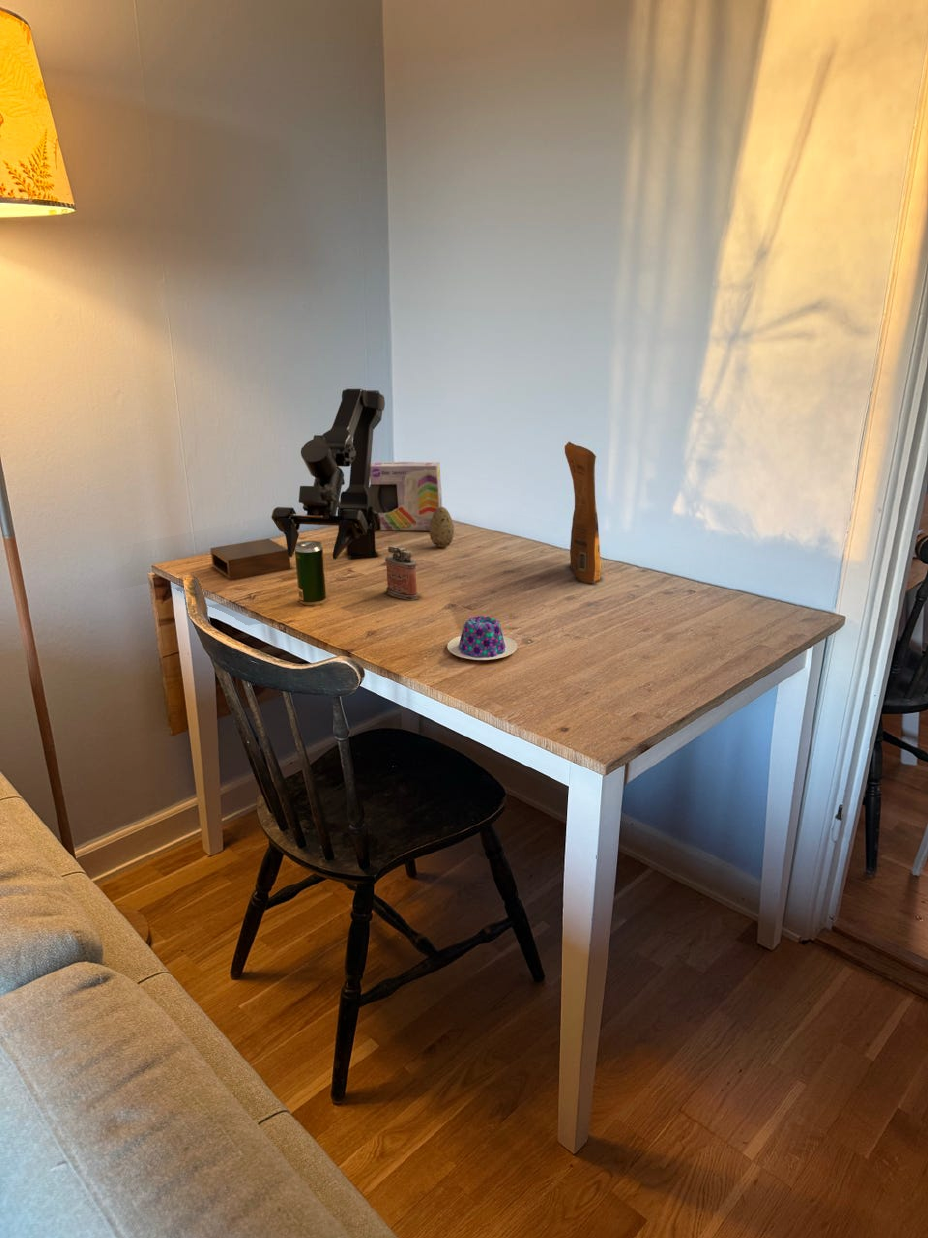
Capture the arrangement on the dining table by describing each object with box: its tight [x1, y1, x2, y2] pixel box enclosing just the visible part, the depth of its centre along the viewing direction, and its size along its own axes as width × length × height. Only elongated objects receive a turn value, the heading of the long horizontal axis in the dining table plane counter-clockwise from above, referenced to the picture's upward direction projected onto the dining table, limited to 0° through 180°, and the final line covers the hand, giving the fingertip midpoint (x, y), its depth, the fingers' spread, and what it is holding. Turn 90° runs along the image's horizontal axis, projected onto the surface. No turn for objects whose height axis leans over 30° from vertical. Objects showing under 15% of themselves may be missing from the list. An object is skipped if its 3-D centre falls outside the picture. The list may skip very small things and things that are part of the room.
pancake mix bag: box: [564, 441, 602, 585], centre depth 177 cm, size 7×19×28 cm, turn 3°
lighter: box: [384, 545, 419, 601], centre depth 167 cm, size 8×3×10 cm, turn 47°
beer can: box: [294, 540, 327, 606], centre depth 164 cm, size 5×5×12 cm
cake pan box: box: [369, 461, 443, 531], centre depth 216 cm, size 19×5×18 cm, turn 81°
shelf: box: [210, 538, 291, 581], centre depth 187 cm, size 14×12×4 cm
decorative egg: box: [429, 506, 455, 548], centre depth 201 cm, size 6×6×10 cm
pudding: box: [446, 615, 518, 661], centre depth 141 cm, size 12×12×5 cm
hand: (311, 557), depth 164 cm, fingers open, 9 cm apart
